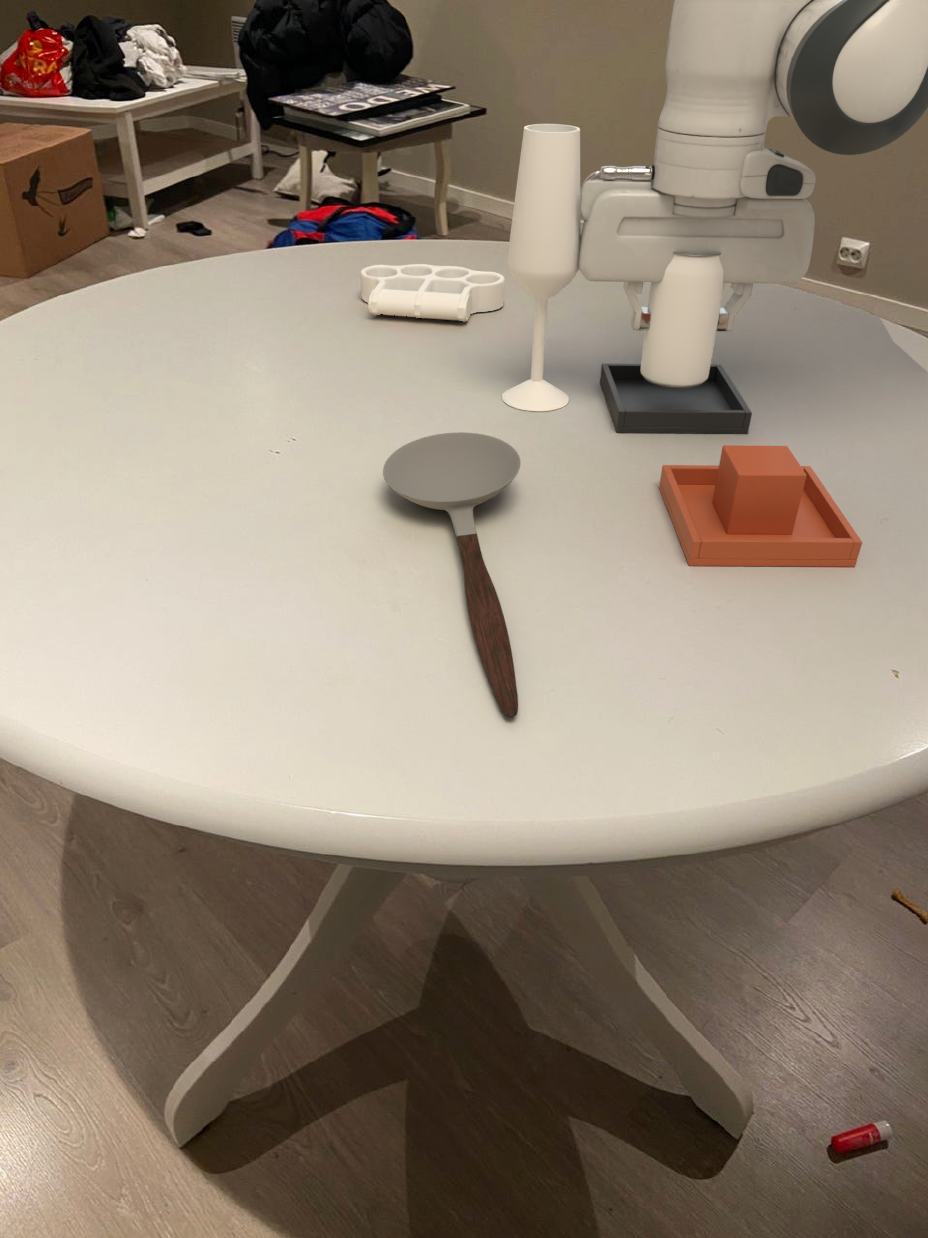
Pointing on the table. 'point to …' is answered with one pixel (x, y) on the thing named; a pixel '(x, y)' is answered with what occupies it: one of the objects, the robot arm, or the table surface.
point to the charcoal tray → (673, 403)
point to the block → (758, 489)
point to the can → (683, 322)
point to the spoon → (465, 528)
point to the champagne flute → (544, 242)
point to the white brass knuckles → (430, 290)
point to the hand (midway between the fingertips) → (681, 329)
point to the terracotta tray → (706, 542)
